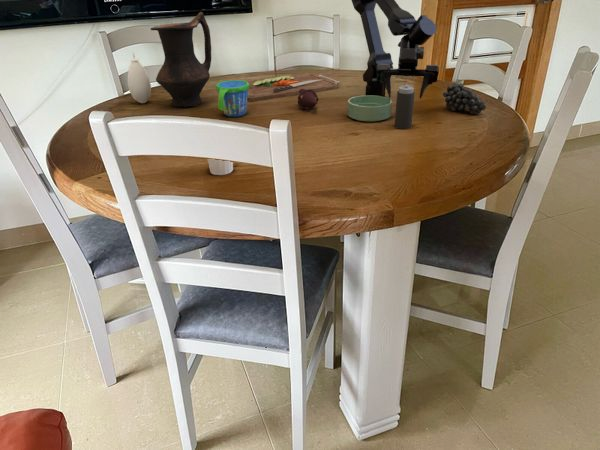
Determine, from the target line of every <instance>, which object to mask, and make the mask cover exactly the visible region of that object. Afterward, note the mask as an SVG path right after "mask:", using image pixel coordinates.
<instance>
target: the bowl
mask: <svg viewBox="0 0 600 450" xmlns="http://www.w3.org/2000/svg"><path fill="white" fill-rule="evenodd" d="M386 97H387V96H386ZM386 97H382V96H375V95H356V96H352V97H350V98H348V99H347V116H348V117H349V118H351V119H353V120H356V121H361V122H380V121H383V120H386V119H389V118H391V116H392V109H393V107H392V106H393V100H392V99H391V98H390V97H388V98H386Z"/></svg>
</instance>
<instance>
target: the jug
mask: <svg viewBox="0 0 600 450" xmlns="http://www.w3.org/2000/svg"><path fill="white" fill-rule="evenodd" d="M199 24H200V25H201V28H202V31H203V39H204V62H202V63H201V62H200V60H198V58H197V56H196V54H195V47H194V40H193V37H194V35H193V33H194V29H195V28H197V27H198V26H199ZM150 31H157V32H158V36H159V39H160V42H161V46H162V50H163V54H164V61H163V64H162V65H161V67H160V69H159V71H158V73H157V75H156V78H155V81H156V83H157V84H158V85H160V86H161V87H162V88H163V90H165V91H166V92H167V93H168V94H169V95H170V97H171V98H172V99H171V106H172V107H177V108H183V107H186V108H187V107H195V106H199V105H201V104H203V99H202V97H201V93H202V91H203V89H204V88H205V86H206V84H207V83H208V81H209V79H210V76H211V74H210V69H211V65H212V40H211V39H212V38H211V31H210V26H209V24H208V22H207V20H206V18H205V14H204V13H203V12H202V11H200V12H199V13H197V15H196V16H195V17H194V18H193V19H191V20H190V21H189V22H177V23H176V22H175V23H166V24H160V25H157V26H152V27H150Z"/></svg>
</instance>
